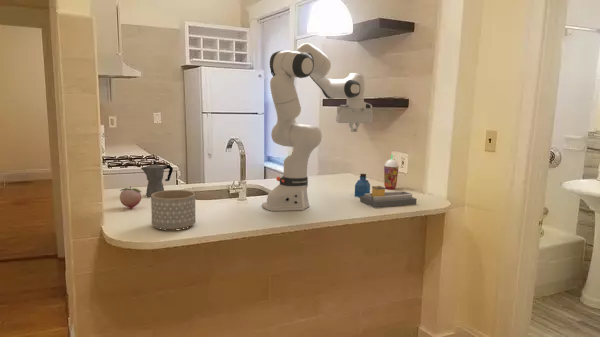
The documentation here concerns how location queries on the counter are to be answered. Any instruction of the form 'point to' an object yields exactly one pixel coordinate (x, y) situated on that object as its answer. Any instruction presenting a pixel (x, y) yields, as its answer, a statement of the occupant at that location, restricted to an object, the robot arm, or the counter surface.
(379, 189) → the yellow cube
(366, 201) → the grey tray
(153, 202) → the planter
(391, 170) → the smoothie
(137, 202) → the decorative fruit
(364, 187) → the perfume bottle
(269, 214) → the counter surface
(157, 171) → the coffeepot
